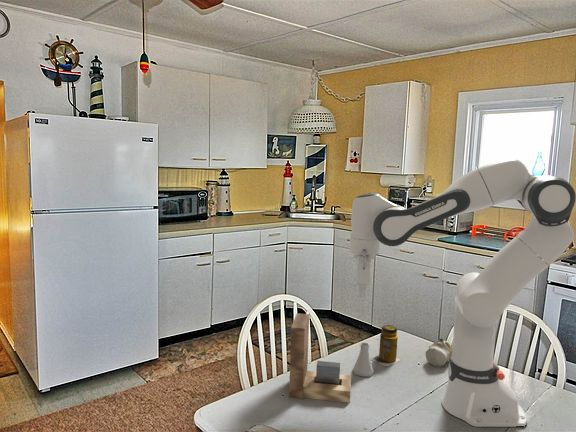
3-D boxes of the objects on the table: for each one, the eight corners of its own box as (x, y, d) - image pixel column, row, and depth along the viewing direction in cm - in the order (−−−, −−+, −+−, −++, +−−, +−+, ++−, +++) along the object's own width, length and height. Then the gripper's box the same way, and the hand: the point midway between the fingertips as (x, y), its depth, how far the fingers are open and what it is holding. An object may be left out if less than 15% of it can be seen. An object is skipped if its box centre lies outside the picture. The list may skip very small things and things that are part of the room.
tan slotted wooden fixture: (350, 384, 146) (354, 317, 143) (349, 404, 135) (353, 332, 131) (294, 378, 149) (296, 313, 146) (289, 397, 137) (291, 327, 134)
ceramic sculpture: (419, 339, 161) (434, 329, 173) (417, 363, 162) (432, 351, 174) (450, 348, 155) (463, 337, 166) (447, 373, 155) (461, 360, 167)
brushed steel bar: (339, 390, 142) (340, 362, 141) (338, 395, 140) (339, 367, 138) (316, 388, 144) (317, 360, 142) (315, 392, 141) (316, 365, 139)
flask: (373, 378, 150) (375, 349, 149) (351, 376, 152) (353, 347, 150) (374, 368, 157) (376, 340, 156) (353, 366, 159) (354, 338, 157)
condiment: (401, 359, 165) (403, 327, 163) (387, 367, 159) (389, 334, 157) (383, 353, 170) (385, 322, 168) (370, 359, 164) (372, 327, 162)
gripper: (376, 255, 128) (373, 302, 130) (374, 240, 148) (371, 282, 150) (353, 253, 129) (350, 301, 131) (354, 239, 149) (352, 281, 151)
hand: (361, 291), depth 141 cm, fingers open, 8 cm apart
